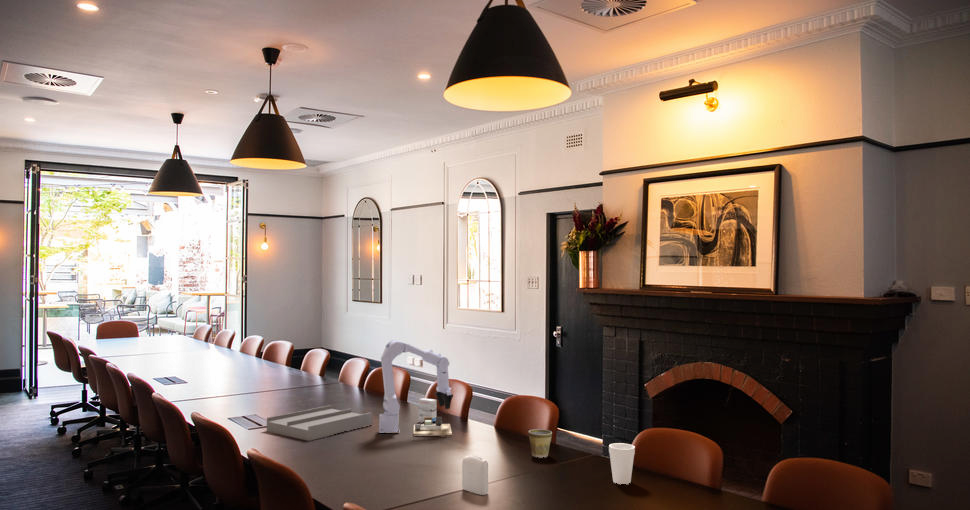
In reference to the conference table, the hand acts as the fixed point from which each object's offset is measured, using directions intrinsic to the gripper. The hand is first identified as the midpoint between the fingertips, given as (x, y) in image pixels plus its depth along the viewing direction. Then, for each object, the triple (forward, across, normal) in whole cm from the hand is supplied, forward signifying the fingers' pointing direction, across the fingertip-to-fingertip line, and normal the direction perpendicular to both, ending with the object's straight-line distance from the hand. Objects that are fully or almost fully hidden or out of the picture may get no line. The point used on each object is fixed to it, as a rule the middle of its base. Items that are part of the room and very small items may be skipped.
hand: (444, 407), depth 323 cm
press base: (+10, -5, +9) cm, 14 cm away
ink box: (+10, +16, +4) cm, 19 cm away
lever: (+8, -7, +12) cm, 16 cm away
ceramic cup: (+12, -63, -17) cm, 66 cm away
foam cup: (+13, -107, -25) cm, 111 cm away
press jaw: (+8, -4, +11) cm, 14 cm away
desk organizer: (+6, +24, +57) cm, 62 cm away
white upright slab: (+9, -95, +28) cm, 99 cm away
